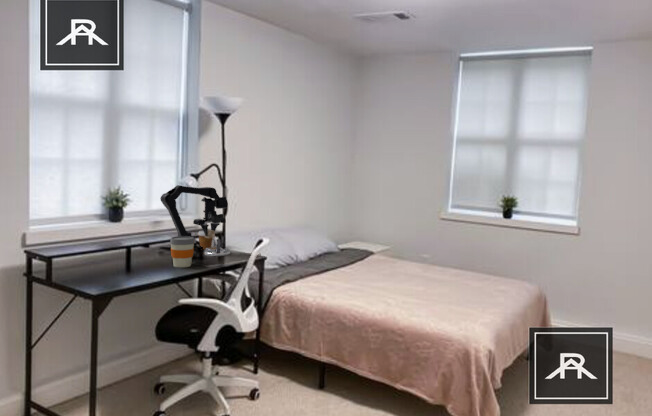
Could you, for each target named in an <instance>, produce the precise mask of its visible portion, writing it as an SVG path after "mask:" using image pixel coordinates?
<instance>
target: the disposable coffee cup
mask: <svg viewBox="0 0 652 416" xmlns="http://www.w3.org/2000/svg"><path fill="white" fill-rule="evenodd" d="M197 234H198V239H199V247H200V246H201V247H203V249H204V251H205V249H206V248H210V247H213V239H214V238H205V233H204V231H203V230H199V231H198V233H197Z"/></svg>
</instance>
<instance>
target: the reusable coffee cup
mask: <svg viewBox="0 0 652 416" xmlns="http://www.w3.org/2000/svg"><path fill="white" fill-rule="evenodd" d="M169 244H170V255H171V258H172V262H173V264H172V265H173V267H174V268H189V267H191V266H192V260H193V257H194V253H195V252H194V251H195V248H194V245H195V237H194V236H192V237H189V236H178V235H177V236H171V237H170V242H169Z"/></svg>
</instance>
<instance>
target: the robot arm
mask: <svg viewBox="0 0 652 416" xmlns="http://www.w3.org/2000/svg"><path fill="white" fill-rule="evenodd" d="M182 194H192V195H200V196H203V198H202V199H201V200H200V201H201V202H203V203H204V210H203V212H202V213H204V217H202V218H196V219H193V221H192V224H193V225H197V226H200V227H201V229H202V231H204V233H205V236H207V234H208V228H209V226H210V230H213V231H215V232H216V229H217V227H218V226H219V225H221V224H225V223H226V218H225V217H224V214H223V213H219V214H217V210H216V209H227V208H228V207H229V203H228V199H227V197H226V196H219V194H218V193H217V189H216V188H214V187H210V186H205V187H194V186H193V187H192V186H186V185H185V186H183V185H179V184H177V185H175V187H172V188H171V189H170V190H168V191H167V192H166V193H163V194H161V195H160V201H161V203H162V205H163V206H164V207H165V208H166V210H167V211H168V213H169V216H170V218H171V220H172V222H173V225H174V227H175V229H176V232H177V236H189V237H193V235H192V232H190V231H187V230H186V227H185V225H184V222H183V221H182V218H181V216H180V213H179V211H178V209H177V201H176V200H177V199H179V197H180V196H181V195H182ZM208 223H209V224H210V225H209V224H208Z"/></svg>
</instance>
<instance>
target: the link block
mask: <svg viewBox="0 0 652 416" xmlns="http://www.w3.org/2000/svg"><path fill="white" fill-rule="evenodd" d="M215 233H216V230H215V231H213V230H211V229H210V230H208V234H207V236H205V238H213V239H214V238H215V236H216V235H215Z"/></svg>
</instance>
